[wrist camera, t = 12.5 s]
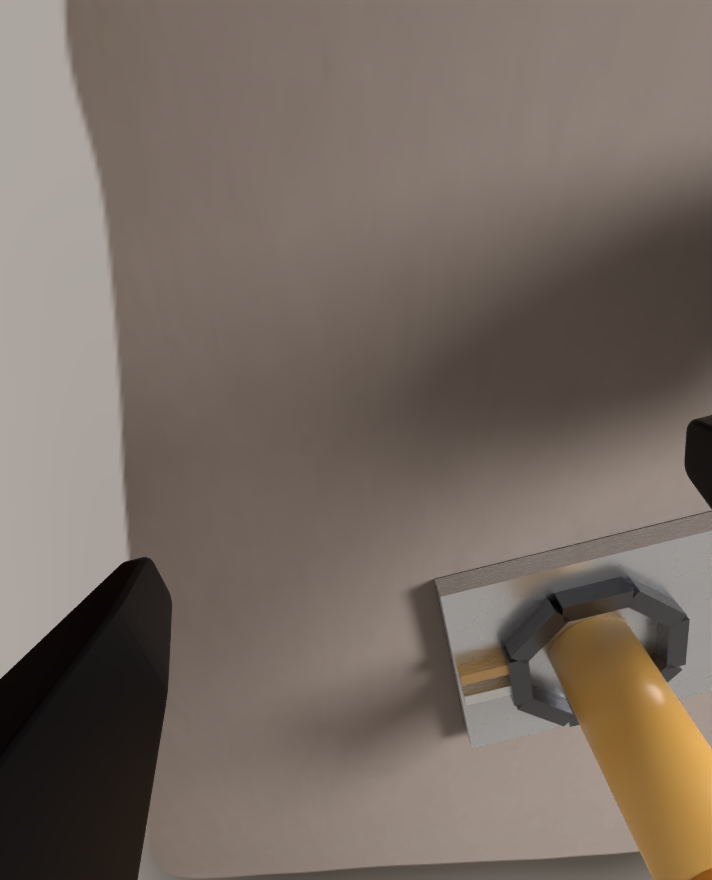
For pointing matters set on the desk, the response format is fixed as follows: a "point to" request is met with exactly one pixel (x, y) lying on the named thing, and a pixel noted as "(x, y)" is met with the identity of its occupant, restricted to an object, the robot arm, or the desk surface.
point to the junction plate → (576, 621)
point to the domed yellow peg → (641, 745)
